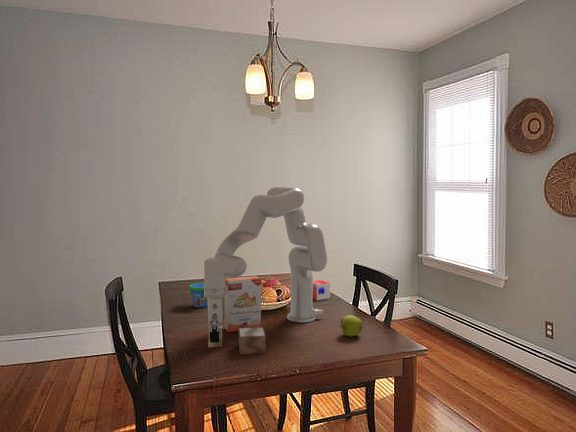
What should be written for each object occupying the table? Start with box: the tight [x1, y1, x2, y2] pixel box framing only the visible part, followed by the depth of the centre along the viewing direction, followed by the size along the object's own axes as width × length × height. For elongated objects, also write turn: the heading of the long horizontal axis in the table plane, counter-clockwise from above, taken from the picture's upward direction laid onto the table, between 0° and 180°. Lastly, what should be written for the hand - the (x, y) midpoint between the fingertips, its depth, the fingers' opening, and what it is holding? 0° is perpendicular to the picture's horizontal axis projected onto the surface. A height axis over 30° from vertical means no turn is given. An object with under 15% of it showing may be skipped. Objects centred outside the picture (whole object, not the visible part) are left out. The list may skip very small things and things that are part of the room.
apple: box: [339, 314, 364, 337], centre depth 178 cm, size 8×9×8 cm
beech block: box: [207, 323, 223, 348], centre depth 168 cm, size 5×5×7 cm
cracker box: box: [224, 275, 262, 333], centre depth 185 cm, size 14×6×21 cm, turn 113°
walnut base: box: [238, 326, 267, 355], centre depth 164 cm, size 9×9×6 cm
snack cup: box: [188, 282, 208, 309], centre depth 217 cm, size 16×10×10 cm
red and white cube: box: [313, 279, 331, 301], centre depth 234 cm, size 8×8×8 cm
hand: (214, 337), depth 168 cm, fingers open, 9 cm apart
